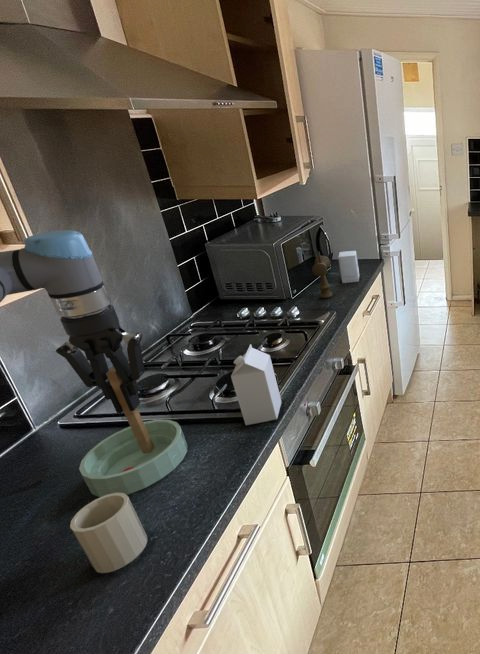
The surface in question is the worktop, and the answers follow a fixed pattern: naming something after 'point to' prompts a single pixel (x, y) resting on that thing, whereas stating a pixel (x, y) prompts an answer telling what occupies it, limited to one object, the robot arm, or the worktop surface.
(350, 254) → the white packaging box
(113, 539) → the crock
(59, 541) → the worktop surface
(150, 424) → the bowl
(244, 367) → the milk carton
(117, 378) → the stirring stick
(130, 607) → the worktop surface
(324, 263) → the kendama
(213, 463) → the worktop surface
